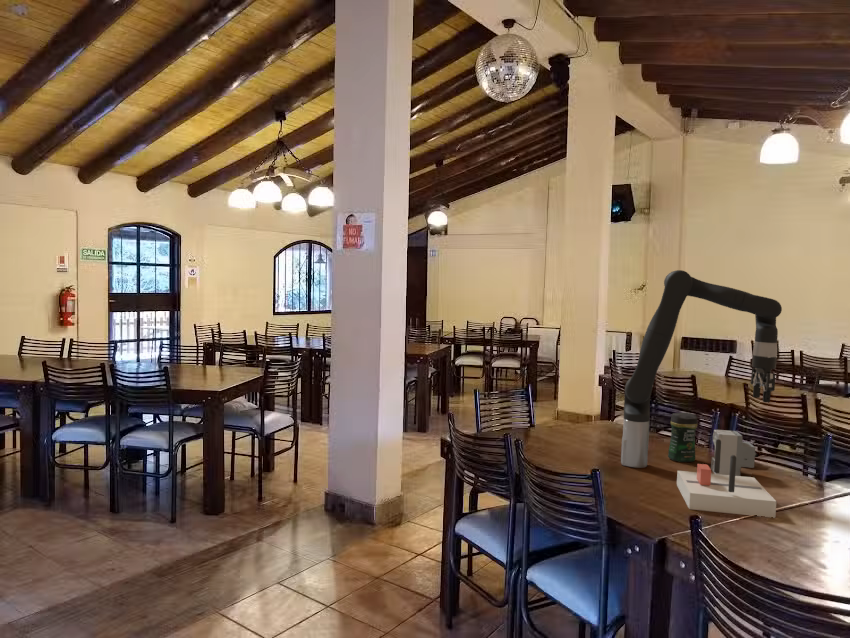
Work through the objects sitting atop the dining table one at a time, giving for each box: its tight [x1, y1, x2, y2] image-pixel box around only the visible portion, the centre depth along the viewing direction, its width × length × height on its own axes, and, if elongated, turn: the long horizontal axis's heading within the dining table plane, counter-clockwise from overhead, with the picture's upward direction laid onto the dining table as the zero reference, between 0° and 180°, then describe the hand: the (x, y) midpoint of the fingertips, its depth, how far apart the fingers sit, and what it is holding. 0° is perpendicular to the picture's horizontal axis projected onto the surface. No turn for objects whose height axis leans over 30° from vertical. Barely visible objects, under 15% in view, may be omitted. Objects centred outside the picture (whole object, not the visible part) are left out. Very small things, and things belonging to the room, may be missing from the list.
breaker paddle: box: [696, 463, 712, 485], centre depth 204 cm, size 3×6×5 cm, turn 167°
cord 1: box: [713, 439, 721, 474], centre depth 212 cm, size 2×2×11 cm
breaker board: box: [676, 470, 777, 519], centre depth 203 cm, size 24×24×5 cm
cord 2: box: [728, 455, 736, 492], centre depth 193 cm, size 2×2×11 cm
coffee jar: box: [667, 412, 698, 463], centre depth 249 cm, size 10×8×19 cm
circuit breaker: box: [710, 429, 759, 476], centre depth 233 cm, size 8×14×15 cm, turn 78°
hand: (761, 399), depth 227 cm, fingers open, 8 cm apart
